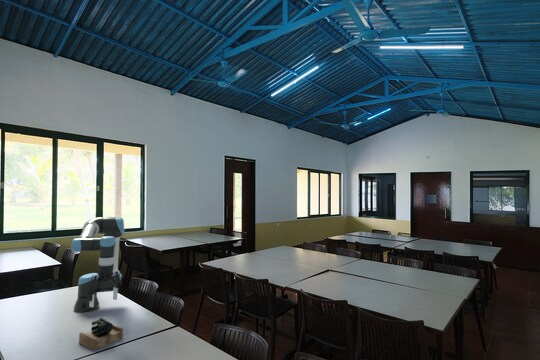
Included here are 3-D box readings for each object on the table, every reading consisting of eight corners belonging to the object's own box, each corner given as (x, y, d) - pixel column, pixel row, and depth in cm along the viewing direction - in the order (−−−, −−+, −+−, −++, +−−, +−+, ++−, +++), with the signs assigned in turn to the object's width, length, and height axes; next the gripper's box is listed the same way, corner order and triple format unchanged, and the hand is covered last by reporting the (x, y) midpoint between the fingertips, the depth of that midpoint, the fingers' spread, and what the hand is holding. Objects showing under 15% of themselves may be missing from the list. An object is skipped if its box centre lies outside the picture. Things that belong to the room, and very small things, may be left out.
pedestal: (107, 331, 176) (107, 322, 176) (122, 338, 169) (122, 328, 170) (78, 343, 162) (79, 332, 162) (94, 350, 155) (95, 339, 156)
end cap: (112, 333, 166) (113, 321, 166) (99, 338, 160) (100, 325, 160) (103, 328, 172) (104, 316, 172) (90, 332, 166) (91, 320, 166)
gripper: (122, 259, 181) (119, 295, 180) (79, 267, 159) (76, 308, 158) (130, 261, 177) (127, 297, 176) (87, 269, 155) (84, 311, 154)
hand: (103, 303), depth 167 cm, fingers open, 13 cm apart
